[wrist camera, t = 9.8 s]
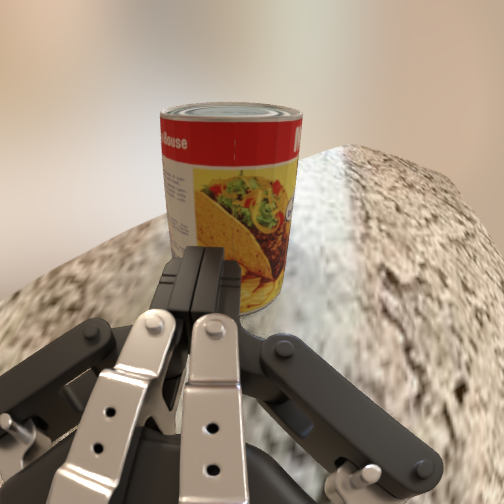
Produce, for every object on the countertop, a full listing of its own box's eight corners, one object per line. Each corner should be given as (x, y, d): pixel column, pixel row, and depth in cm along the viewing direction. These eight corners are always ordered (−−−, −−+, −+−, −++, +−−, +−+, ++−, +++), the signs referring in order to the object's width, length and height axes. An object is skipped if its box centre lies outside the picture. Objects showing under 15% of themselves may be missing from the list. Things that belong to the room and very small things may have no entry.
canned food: (304, 284, 21) (331, 116, 14) (214, 335, 17) (206, 121, 10) (239, 237, 26) (244, 100, 19) (159, 269, 22) (140, 110, 15)
